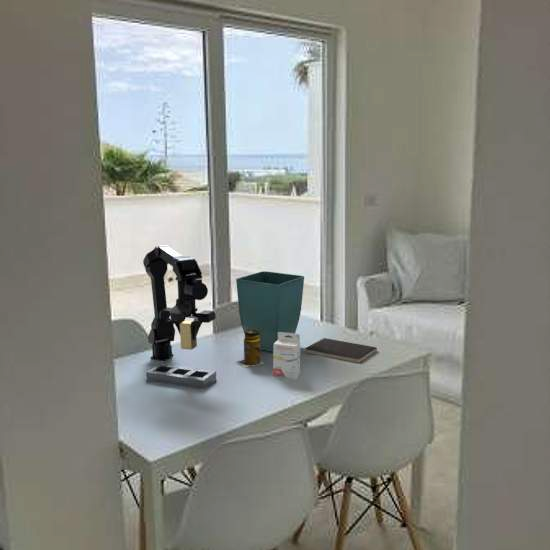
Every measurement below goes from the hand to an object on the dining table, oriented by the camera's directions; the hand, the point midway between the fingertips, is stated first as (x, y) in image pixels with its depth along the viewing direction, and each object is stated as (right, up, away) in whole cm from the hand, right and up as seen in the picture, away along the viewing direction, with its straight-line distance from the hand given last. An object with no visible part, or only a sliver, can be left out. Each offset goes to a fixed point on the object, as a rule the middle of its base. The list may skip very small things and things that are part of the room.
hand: (188, 339), depth 202 cm
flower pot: (+28, -7, +34) cm, 45 cm away
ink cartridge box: (+34, -13, +3) cm, 36 cm away
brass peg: (0, -3, +1) cm, 3 cm away
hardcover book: (+55, -9, +27) cm, 62 cm away
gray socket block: (-2, -14, -1) cm, 14 cm away
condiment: (+21, -11, +15) cm, 28 cm away
